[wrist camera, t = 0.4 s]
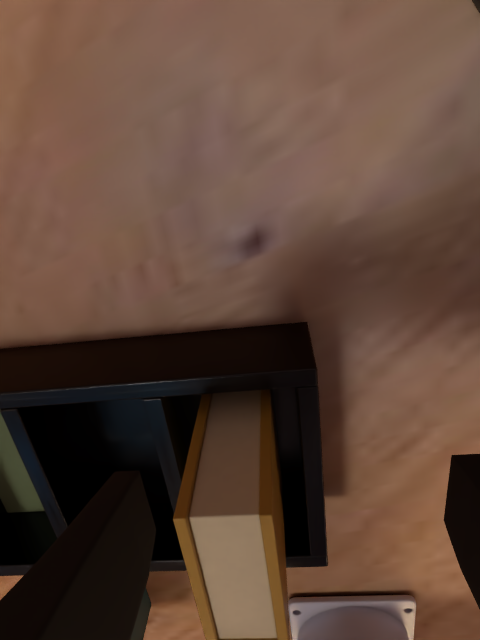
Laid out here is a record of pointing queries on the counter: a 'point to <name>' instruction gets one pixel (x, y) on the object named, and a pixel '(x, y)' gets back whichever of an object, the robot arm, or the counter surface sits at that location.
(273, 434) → the mustard book
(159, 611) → the counter surface
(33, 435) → the caddy
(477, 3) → the magazine
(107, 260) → the counter surface
